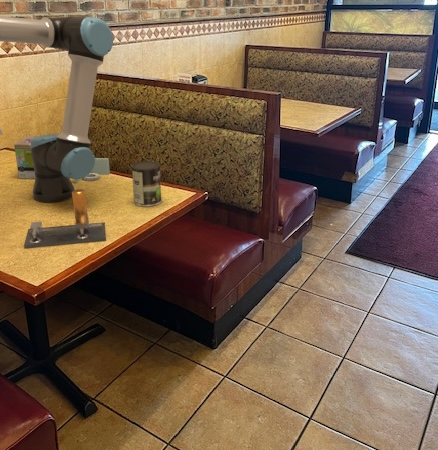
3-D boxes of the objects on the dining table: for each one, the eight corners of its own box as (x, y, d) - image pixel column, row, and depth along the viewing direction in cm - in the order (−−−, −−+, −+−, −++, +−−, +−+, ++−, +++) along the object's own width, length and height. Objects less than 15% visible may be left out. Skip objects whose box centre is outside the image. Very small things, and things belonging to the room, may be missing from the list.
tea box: (42, 179, 207) (37, 144, 201) (18, 179, 207) (12, 144, 201) (54, 168, 220) (49, 135, 214) (31, 168, 220) (26, 135, 214)
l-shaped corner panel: (74, 184, 203) (72, 166, 200) (82, 175, 214) (80, 158, 211) (104, 184, 203) (102, 167, 200) (110, 175, 214) (108, 158, 211)
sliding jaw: (76, 225, 162) (72, 189, 157) (89, 224, 162) (85, 188, 157) (75, 236, 154) (71, 199, 149) (89, 235, 155) (84, 198, 150)
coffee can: (165, 197, 188) (163, 161, 182) (156, 207, 179) (154, 170, 173) (139, 195, 190) (137, 160, 184) (129, 205, 181) (126, 168, 175)
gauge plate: (28, 231, 160) (27, 221, 159) (105, 225, 165) (104, 214, 164) (24, 248, 150) (22, 237, 148) (106, 240, 155) (105, 229, 153)
